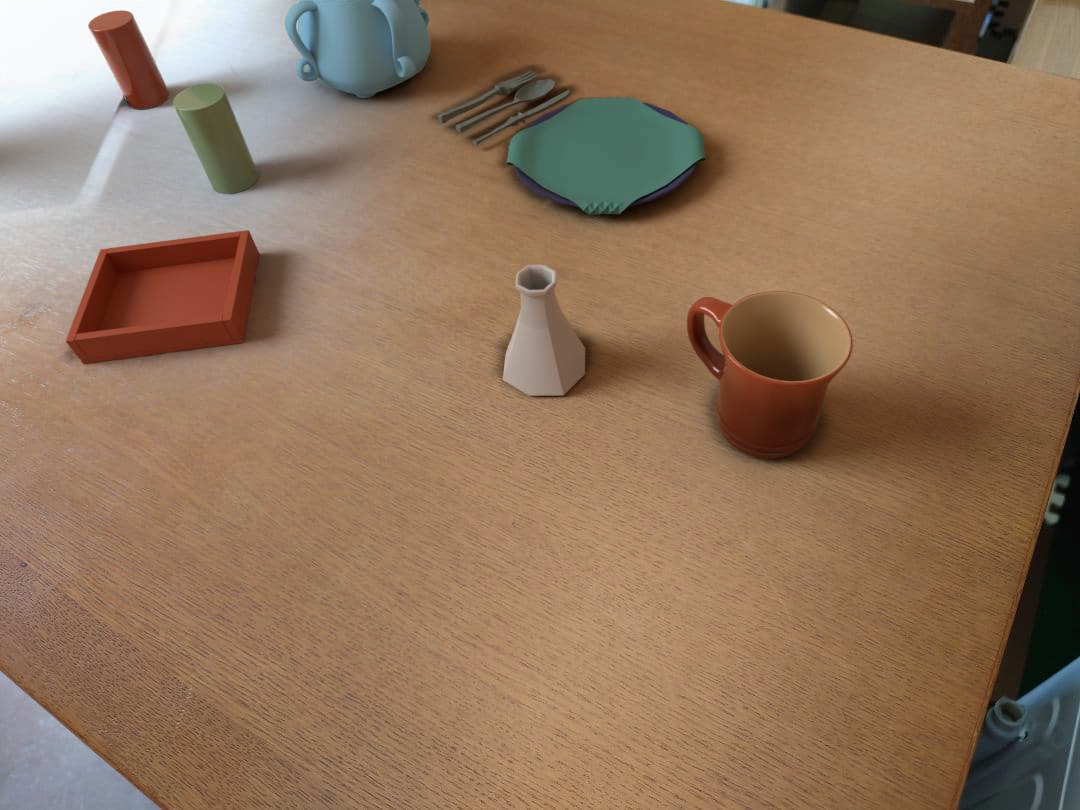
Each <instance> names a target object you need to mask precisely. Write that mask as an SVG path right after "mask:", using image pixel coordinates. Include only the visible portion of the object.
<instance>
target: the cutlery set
mask: <svg viewBox="0 0 1080 810" xmlns="http://www.w3.org/2000/svg"><path fill="white" fill-rule="evenodd" d="M538 77H539V75H538V74H535V72H532V71H531V70H530V71H528V72H526V73H524V74H522V75H520V76H516V77H513V78H511V79H508V80H505V81H502V82H500V81H498V84H494V88H493V89H491V90H489V91H487V92H486V93H484V94H483V95H481V96H479V97H477V98H475V99H473V100H471V101H469V102H466V103H464V104H462V105H458V106H456V107H452V108H451V109H449V110H446V111H444V112H441V113H439V114H438V115H437V117H438V122H439V123H441V124H445V123H447V122H448V121H450V120H452V119H454V118H455V117H458V116H459V115H462V114H466V113H467V112H469V111H471V110H473V109H476V108H477V107H479V106H481V105H483V104H484V103H486V102H487V101H489V100H490V99H491V98H493V97H495V96H496V95H499V96H506V95H509V94H512V93H513V92H514V91H516V93H515V95H514V99H513V101H510V102H508V103H505V104H502V105H499V106H497V107H495V108H492V109H489V110H487V111H484V112H482V113H480V114H478V115H476V116H474V117H472V118H469V119H468V120H467V119H466V120H465V121H463V122H461V123H458V124H455V131H456V132H457V133H459V134H462V133H464V132H465V131H467V130H469V129H470V128H472V127H474V126H476V125H477V124H479V123H481V122H483V121H485V120H486V119H488V118H490V117H492V116H494V115H496V114H498V113H501V112H502V111H504V110H506V109H509V108H511V107H514V106H516V105H518V104H521V103H533V102H534V103H535V102H536V101H540V100H542V99H543V98H544V97H546V96H547V95H549V93H551V91H552V90H553V88H554V87H555V84H556V81H554V80H552V79H551V78H548V79H540V80H539V79H538V80H535V79H536V78H538ZM534 80H535V81H534ZM532 81H533V82H532ZM570 94H571V91H570V89H567V90H565V91H564V92H562V93H560V94H558V95H557V96H554V97H552V98H551V99H549V100H546V101H545V102H543V103H541V104H539V105H537V106H536V107H534V108H532V109H530V110H528V111H526V112H524V113H522V112H520V111H518V112H517V115H516V116H510V118H508V119H507V121H505V123H503V124H501V125H500V126H498V127H496V128H494V129H493V130H492V131H491V132H488V133H487V134H484V135H482V136H480V137H478V138H476V139H472V144H473V146H475V147H476V148H478V145H479V144H481V143H482V142H483V141H486V140H487V139H488V138H490V137H491V136H494V135H495V134H497V133H499V132H501V131H503V130H505V129H507V128H509V127H516V126H517V127H518V126H519V124H520V123H523V124H526V120H527V119H529V118H531V117H534V116H537V115H539V114H540V113H543V112H545V111H546V110H549V109H550V108H553V107H554V106H556V105H558V104H560V103H561V102H563V101H566V100H567V99H568V98H569V96H570ZM705 144H706V143H705V138H704V136H703V134H702V133H701V131H700V130H698V129H697V128H696V127H694V126H692V125H689V123H688V122H686V121H685V120H683V119H682V118H681V117H679V116H678V115H676V114H675V113H673V112H672V111H671V110H667V109H665V108H662V107H659V106H657V105H654V104H650V103H648V102H642V101H640V100H639V99H637V98H634V97H630V96H629V97H628V96H626V97H624V96H623V97H622V96H619V97H617V96H616V97H612V96H611V97H598V98H597V97H591V98H580V99H578V100H577V101H575V102H573V103H571V104H567V105H564V106H562V107H560V108H557V109H554V110H552V111H549V112H547V113H545V114H543V115H541V116H540V117H538V118H537V119H536V120H534V121H533V122H532V123H530V124H529V125H527V126H526V127H525V128H524V129H523V130H520V131H518V132H517V133H515V135H513V136H512V138H511V139H510V140H509V144H508V153H507V159H506V165H509V166H511V167H512V166H513V167H514V169H515V171H516V174H517V177H518V179H519V180H520V181H521V182H522V183H523V184H525V186H526V187H528V189H530V190H531V191H532V192H533V193H534V194H536V195H539V196H540V197H543V198H545V199H547V200H549V201H552V202H554V203H556V204H559V205H564V206H569V207H575V208H579V209H581V210H582V211H583V212H584V213H586V214H587V215H589V216H590V215H620V214H621V213H622V212H623V211H625V210H626V209H627V208H629V207H633V206H638V205H642V204H647V203H651V202H652V201H655V200H657V199H659V198H661V197H664V196H666V195H668V194H670V193H672V192H674V191H675V190H677V189H678V188H679V187H680V186H681V185H682V184H683V183H685V182H686V181H687V180H688V179H689V178H690V177H691V176H692V175H693V173H694V170H695V168H696V166H697V164H698V162H699V163H700V162H704V161H706V160H707V156H706V150H705Z"/></svg>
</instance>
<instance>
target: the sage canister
mask: <svg viewBox="0 0 1080 810" xmlns="http://www.w3.org/2000/svg"><path fill="white" fill-rule="evenodd" d="M172 104H173V106H174V109H175V111H176V114H177V116H178V117H179V120H180V121H181V123H182V125H183V128H184V130H185V132H186V134H187V136H188V139H189V140H190V142H191V145H192V148H193V149H194V151H195V153H196V155H197V157H198V159H199V162H200V164H201V166H202V169H203V170H204V172H205V174H206V177H207V178H208V181H209V182H210V185H211V187H212V190H214V191H215V192H217V193H220V194H225V195H230V194H238V193H240V192H243V191H246V190H248V189H249V188H251V187H253V186H254V185H255V184H256V183H257V181H258V179H259V171H258V168H257V166H256V163H255V160H254V159H253V156H252V154H251V152H250V149H249V147H248V144H247V141H246V139H245V136H244V134H243V133H242V129H241V127H240V125H239V122H238V120H237V117H236V115H235V113H234V110H233V108H232V105H231V103H230V100H229V98H228V96H227V93H226V91H225V88H224V87H223V86H222V85H220V84H218V83H217V84H216V83H208V82H207V83H199V84H195V85H192V86H189V87H187V88H185V89H183V90H181V91H179V93H177V94H176V96H174V98H173V100H172Z"/></svg>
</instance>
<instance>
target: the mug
mask: <svg viewBox="0 0 1080 810" xmlns="http://www.w3.org/2000/svg"><path fill="white" fill-rule="evenodd" d="M705 316H708V317H709V318H710V319H711V320H712V321H713V322H714V323H715V325H716V326H717V328H718V339H719V344H720V347H721V350H722V352H720V351H719V350H718V349H717V348H716V347H715V346H714V345H713V344H712V342H711V341H710V338H709V336H708V334H707V331H706V324H705V323H706V322H705ZM686 331H687V335H688V340H689V343H690V345H691V347H692V349H693V351H694V352H695V354H696V356H697V357H698V358H699V359H700V361H701V362H702V363H703V364H704V366H705V367H706V368H707V370H708V372H710V374H711V375H712V376H713V377H714V378H715V379H717V380H718V382H719V386H718V392H717V396H716V403H715V405H716V417H717V422H718V428H719V430H720V432H721V435H722V436H723V438H724V439H725V440H726V441H727V443H729V444H730V445H731V446H732V447H733V448H734V449H736V450H738V451H739V452H741V453H743V454H745V455H747V456H751V457H754V458H757V459H758V458H759V459H766V460H770V459H779V458H784V457H787V456H790V455H792V454H794V453H796V452H798V451H799V450H800V449H801V448H802V447H804V445H805V444H806V442H807V441H808V440H809V439H810V438H811V436H812V434H813V433H814V431H815V429H816V428H817V426H818V423H819V418H820V415H821V412H822V409H823V405H824V402H825V398H826V393H827V391H828V387H829V384H830V383H831V381H833V380H834V378H835V377H836V376H837V375H838V374H839V373H840V372H841V371H842V370H843V369H844V368H845V367H846V365H847V364H848V362H849V360H850V358H851V356H852V352H853V348H854V347H853V346H854V342H853V336H852V335H853V334H852V332H851V329H850V327H849V325H848V324H847V322H846V321H845V319H844V318H843V317H842V316H841V315H840V314H839V313H838V312H837V311H836V310H835V309H834V308H832V306H830V305H828V304H827V303H825V302H823V301H821V300H820V299H817V298H814V297H812V296H810V295H807V294H802V293H799V292H793V291H786V290H785V291H784V290H772V291H762V292H757V293H752V294H749V295H747V296H744V297H743V298H741V299H739V300H737V301H736V302H734V303H733V304H732V303H729V302H726V301H723V300H720V299H719V298H716V297H713V296H703V297H701V298H699V299H698V300H697V301H695V302H694V303H693V304H692V305H691V306H690V307H689V310H688V312H687V317H686Z"/></svg>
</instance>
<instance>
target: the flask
mask: <svg viewBox="0 0 1080 810" xmlns="http://www.w3.org/2000/svg"><path fill="white" fill-rule="evenodd" d="M557 279H558V272H557V269H556V270H555V269H554V268H551V267H549V266H548V265H545V264H527V265H526V266H524V267H523V268H522V269H521V270H519V271H518V272H517V273H516V275H515V285H514V287H515V290H516V291H518V292H519V295H520V312H519V315H518V317H517V321H516V324H515V327H514V330H513V333H512V336H511V338H510V340H509V343H508V346H507V348H506V352H505V356H504V365H503V373H502V374H503V375H502V381H504V382H505V383H508V385H511V386H512V387H514V388H515V389H517V390H518V391H520V392H522V393H524V394H525V395H526V396H529V397H530V396H532V397H533V396H564V395H566V394H567V393H568V392H569V391H570V390H571V389H572V388H573V387H574V386H575V385H576V383H578V382H579V381H580V380H581V379H582V377H584V376H585V375H586V348H585V345H584V344H583V342H582V341H581V339H580V337H579V336H578V335H577V333H576V332H575V331H574V328H572V326H571V324H570V323H569V321H568V319H567V317H566V315H565V314H564V311H562V309H561V308H560V307H561V306H560V304H559V301H558V298H557V295H556V291H555V289H556V287H557Z"/></svg>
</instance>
